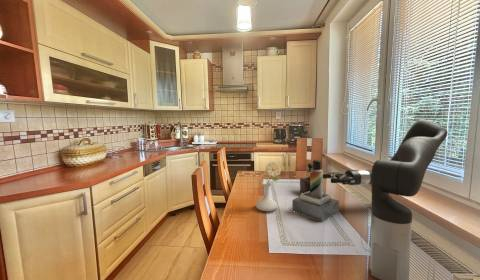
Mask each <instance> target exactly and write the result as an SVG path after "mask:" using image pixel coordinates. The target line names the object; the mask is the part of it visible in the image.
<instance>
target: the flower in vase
mask: <svg viewBox="0 0 480 280" xmlns="http://www.w3.org/2000/svg"><path fill="white" fill-rule="evenodd" d="M265 172H266V174H267V175H268V176H270V178H269V179H268V178H266V177H263V176H261V178H262V179H264V180H267V181H262V182H261V184H262V186H263V189H264V195H263V197H262V198H261V199H259V200H258V201H257V202H256V203H255V207H256V209H258V210H259V211H263V212H273V211H276V210H277V209H278V203H277V202H276V201H275V200H273V199H272V198H271V197H270V187H271V185H272V182H271V180H272V181H273V182H277V181H280V178H279V177H278V176H279V175H280V174H281V172H282V168H281V167H280V164H279V163H278V162H275V161H270V162H269V163H266V167H265Z"/></svg>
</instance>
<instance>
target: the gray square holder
mask: <svg viewBox="0 0 480 280" xmlns="http://www.w3.org/2000/svg"><path fill="white" fill-rule="evenodd" d="M291 203H292V205H291V206H292V210H291V211H292V212H293V211H295V212H294V213H296V212H297V213H296V214H298V213H300V214H299V215H301V214H303V215H302V216H304V215H305V216H304V217H307V216H308V217H307V218H309V217H310V218H309V219H312V218H313V219H312V220H315V219H316V220H315V221H317V220H319V221H318V222H320V221H321V222H320V223H323V221H324V222H326V221H327V220H329V219H330V218H332V217H334V216H335V215H337V214H338V212H339V213H340V200H338V199H335V198H332V195H331V194H328V193H325V192H322V198H321V199H316V198H313V197H310V191H308V192H306V193H303V194H302V193H300V194H299V196H298V197H296V198H294V199H292V202H291ZM336 213H337V214H336ZM333 215H334V216H333ZM331 216H332V217H331ZM329 217H330V218H329ZM328 218H329V219H328ZM326 219H327V220H326Z"/></svg>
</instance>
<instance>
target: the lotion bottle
mask: <svg viewBox="0 0 480 280" xmlns="http://www.w3.org/2000/svg"><path fill="white" fill-rule="evenodd" d="M312 164H313V168H312V169H311V174H310V173H309V176H310V197H313V198H316V199H321V198H322V193H323V190H322V189H323V183H324V180H323V174H324V170H323V169H322V168H321V167H322V161H321V160H319V159H313V161H312Z"/></svg>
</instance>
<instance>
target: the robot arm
mask: <svg viewBox="0 0 480 280" xmlns="http://www.w3.org/2000/svg"><path fill="white" fill-rule="evenodd" d="M447 136H448V129H446V128H445V127H443V126H442V125H439V124H436V123H434V122H432V121H429V120H427V119H424V118H420V119H418V120H416V121H415V122H414V124H412V125H411V127H410V128H409V129H408V130H407V133H406V134H405V136H404V138H403V139H402V140H401V142H400V145H399V146H398V147H397V150H396V152H395V154H393V156H392V157H391V159H389V160H387V159H377V160H376V161H374V162H373V165H372V167H371V169H349V170H348V169H347V170H346V171H345V172H344V173H342V172H339V171H338V172H328V173H323V179H329V180H330V183H331V184H342V185H348V186H362V185H370V186H371V226H370V227H371V233H370V253H369V254H370V256H369V257H370V259H369V269H370V272H371V276H372V277H374V278H376V279H378V280H410V265H411V248H412V247H411V245H412V244H411V243H412V229H413V228H412V227H413V226H412V225H413V213H412V210H411V209H410V208H409V207H407V206H406V205H404V204H402V203H400V202H399V201H397V200H396V199H395V198H393V197H392V196H391V195H395V196H396V195H397V196H401V197H409V198H411V197H414V196H416V195H417V194H418V193H419V191H420V189H421V186H422V184H423V182H424V181H423V180H424V177H425V174H426V171H427V170H428V168H429V166H430V165H431V163H432V161H433V159H434V158H435V155H436V153H437V150H438V149H439V147H440V146H441V145H442V144H443V143H444V141H445V140H446V138H447ZM390 194H391V195H390Z"/></svg>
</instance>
